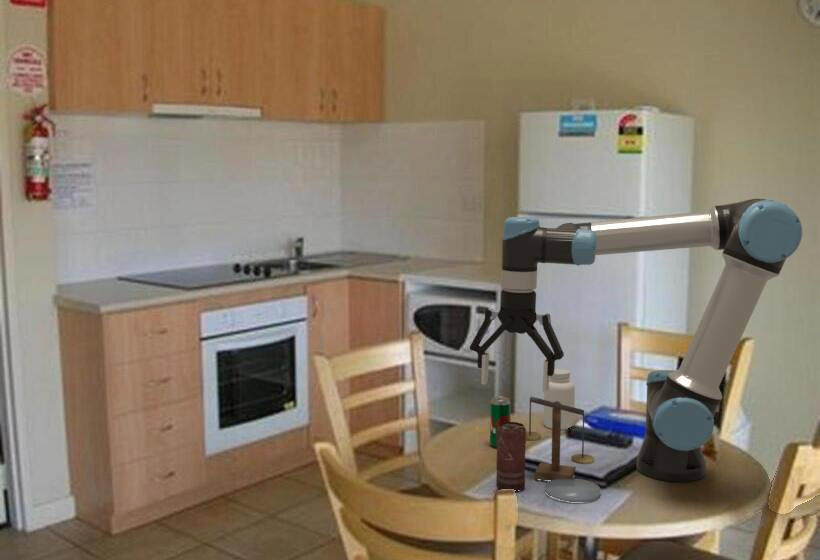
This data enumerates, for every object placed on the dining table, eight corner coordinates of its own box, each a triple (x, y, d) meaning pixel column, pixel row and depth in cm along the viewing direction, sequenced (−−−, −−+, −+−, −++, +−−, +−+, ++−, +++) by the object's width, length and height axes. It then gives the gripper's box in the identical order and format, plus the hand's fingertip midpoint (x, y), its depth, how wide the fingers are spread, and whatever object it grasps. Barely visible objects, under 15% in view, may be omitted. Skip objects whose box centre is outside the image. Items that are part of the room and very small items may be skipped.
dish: (603, 486, 190) (603, 481, 190) (596, 506, 180) (596, 501, 179) (550, 480, 194) (550, 475, 194) (540, 499, 183) (540, 494, 183)
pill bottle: (543, 429, 231) (544, 374, 229) (543, 421, 239) (544, 367, 237) (574, 431, 230) (575, 375, 228) (573, 422, 238) (574, 368, 236)
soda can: (513, 444, 219) (514, 397, 218) (504, 450, 215) (505, 402, 213) (495, 441, 222) (495, 394, 220) (486, 446, 218) (486, 399, 216)
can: (525, 493, 187) (525, 430, 185) (495, 491, 188) (495, 428, 186) (527, 483, 193) (527, 421, 191) (498, 481, 194) (498, 420, 192)
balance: (595, 477, 196) (597, 398, 194) (591, 486, 190) (593, 405, 188) (521, 469, 202) (522, 392, 199) (515, 478, 196) (516, 398, 194)
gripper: (580, 291, 187) (575, 389, 190) (468, 283, 196) (465, 376, 199) (573, 296, 180) (568, 397, 183) (457, 287, 189) (454, 383, 192)
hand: (514, 386), depth 191 cm, fingers open, 13 cm apart
